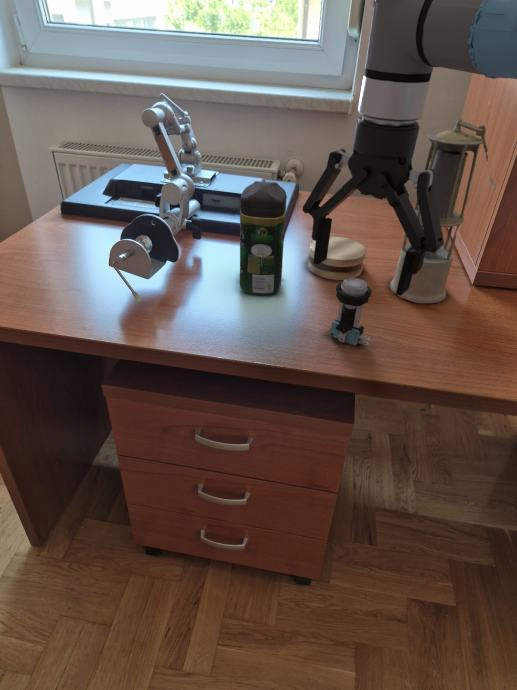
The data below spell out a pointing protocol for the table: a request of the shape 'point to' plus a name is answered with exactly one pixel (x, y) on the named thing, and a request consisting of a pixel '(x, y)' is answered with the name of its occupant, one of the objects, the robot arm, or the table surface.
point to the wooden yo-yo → (339, 259)
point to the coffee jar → (262, 237)
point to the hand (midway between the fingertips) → (359, 275)
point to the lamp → (442, 209)
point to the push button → (350, 311)
